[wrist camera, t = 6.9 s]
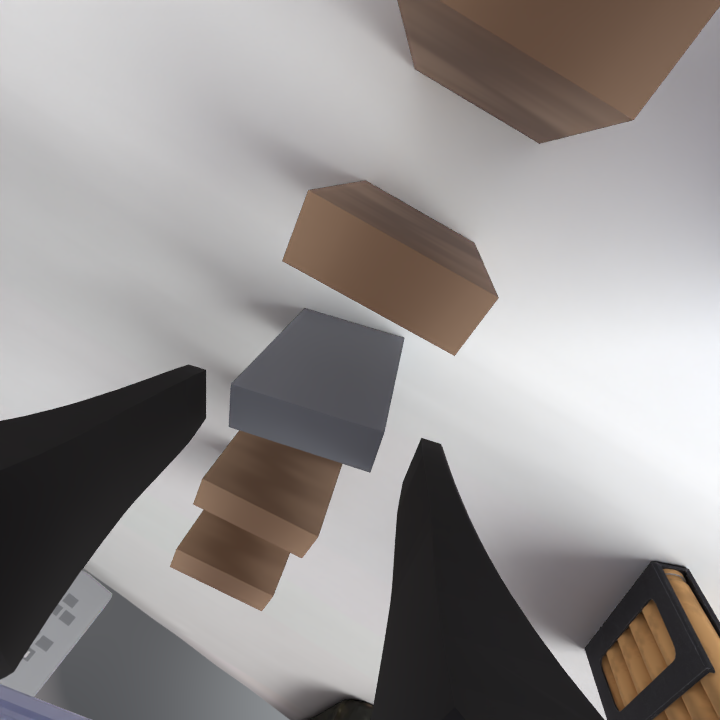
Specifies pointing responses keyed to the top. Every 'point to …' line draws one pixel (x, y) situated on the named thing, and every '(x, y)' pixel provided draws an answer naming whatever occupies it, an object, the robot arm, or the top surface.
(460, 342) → the walnut domino
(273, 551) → the walnut domino
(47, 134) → the top surface
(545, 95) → the walnut domino
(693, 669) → the ammunition clip
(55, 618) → the office telephone
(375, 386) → the charcoal domino
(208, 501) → the walnut domino
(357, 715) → the network switch
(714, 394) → the top surface
